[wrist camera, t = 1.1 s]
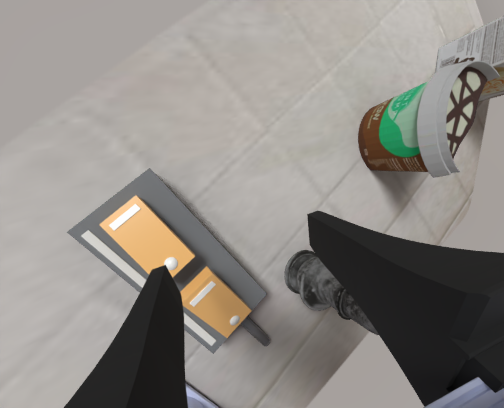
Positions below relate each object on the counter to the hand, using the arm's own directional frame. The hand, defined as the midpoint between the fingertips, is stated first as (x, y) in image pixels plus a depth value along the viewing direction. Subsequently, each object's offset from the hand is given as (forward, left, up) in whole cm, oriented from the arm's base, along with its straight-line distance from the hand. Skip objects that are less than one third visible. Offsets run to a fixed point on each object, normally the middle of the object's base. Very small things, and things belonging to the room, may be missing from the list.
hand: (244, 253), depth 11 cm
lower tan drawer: (-4, -5, -8) cm, 10 cm away
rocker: (-4, +2, -8) cm, 9 cm away
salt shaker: (+5, -13, -12) cm, 19 cm away
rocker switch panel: (-4, -5, -12) cm, 13 cm away
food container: (+24, -6, -12) cm, 28 cm away
